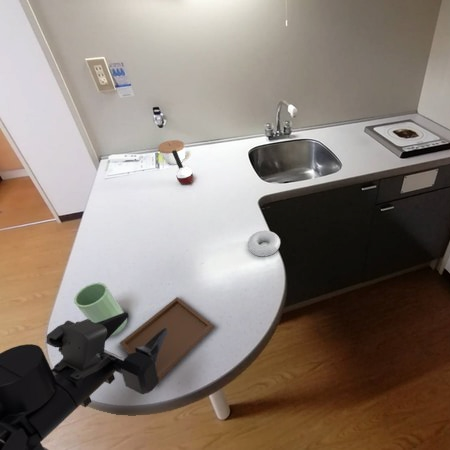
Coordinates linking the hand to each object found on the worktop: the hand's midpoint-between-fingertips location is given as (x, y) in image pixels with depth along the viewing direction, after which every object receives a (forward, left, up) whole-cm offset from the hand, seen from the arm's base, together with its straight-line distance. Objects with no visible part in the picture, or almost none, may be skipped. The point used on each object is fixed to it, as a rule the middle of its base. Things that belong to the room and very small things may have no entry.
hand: (146, 321), depth 57 cm
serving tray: (+3, +5, -16) cm, 17 cm away
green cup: (-3, +19, -16) cm, 25 cm away
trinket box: (+57, +76, -16) cm, 97 cm away
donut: (+39, +7, -16) cm, 43 cm away
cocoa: (+49, +58, -16) cm, 78 cm away
